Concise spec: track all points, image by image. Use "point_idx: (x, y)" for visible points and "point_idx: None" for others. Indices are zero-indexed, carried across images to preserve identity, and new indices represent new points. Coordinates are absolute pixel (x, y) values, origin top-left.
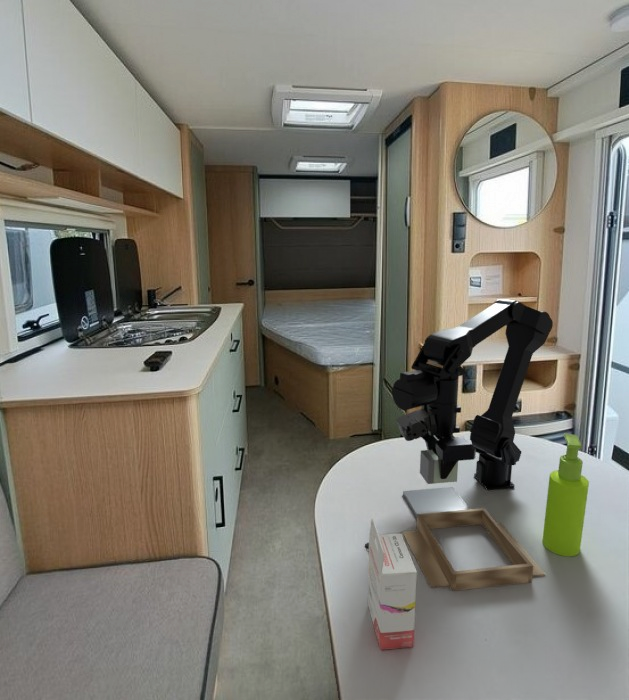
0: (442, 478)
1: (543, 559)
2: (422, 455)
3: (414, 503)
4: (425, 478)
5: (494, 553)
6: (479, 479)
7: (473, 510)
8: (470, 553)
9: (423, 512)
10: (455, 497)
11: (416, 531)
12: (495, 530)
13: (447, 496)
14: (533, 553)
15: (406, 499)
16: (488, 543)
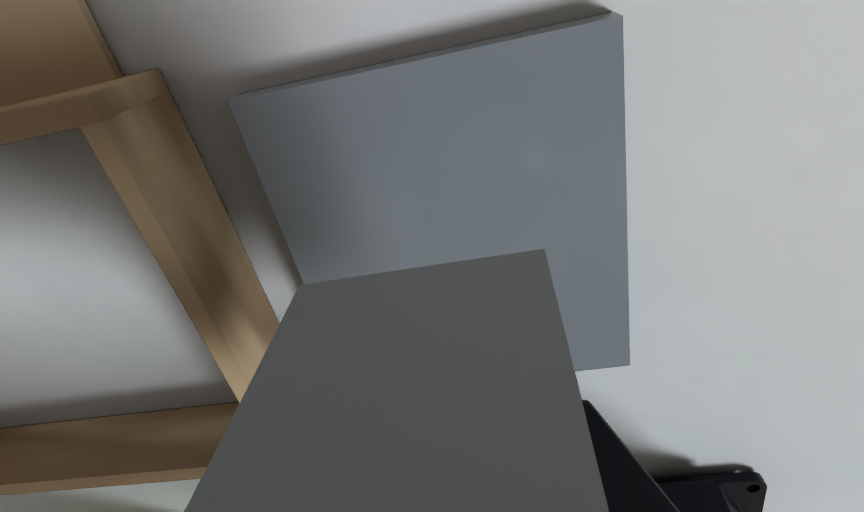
0: None
1: (132, 497)
2: (483, 493)
3: (421, 94)
4: (357, 291)
5: (96, 385)
6: (672, 494)
7: None
8: (50, 304)
9: (305, 144)
10: None
11: (98, 60)
12: (159, 450)
13: None
14: (154, 485)
15: (516, 34)
16: (158, 383)
